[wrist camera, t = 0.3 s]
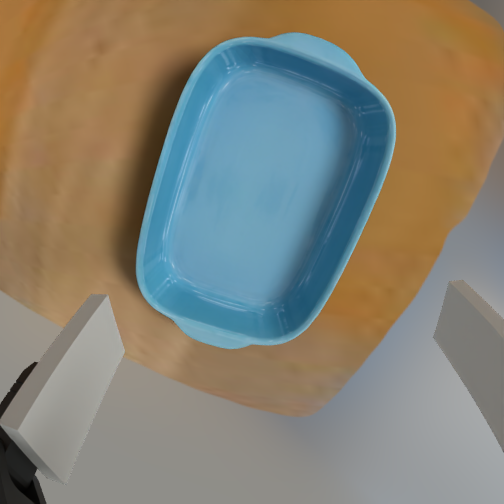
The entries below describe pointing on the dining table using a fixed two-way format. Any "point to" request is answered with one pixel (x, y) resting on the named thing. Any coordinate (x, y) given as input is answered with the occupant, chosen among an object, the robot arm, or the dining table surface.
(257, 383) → the dining table surface
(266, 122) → the casserole dish
